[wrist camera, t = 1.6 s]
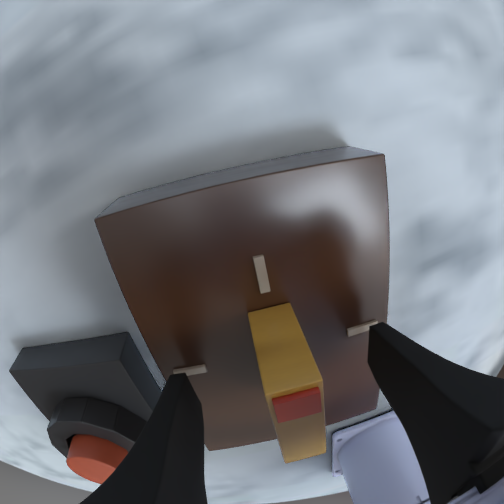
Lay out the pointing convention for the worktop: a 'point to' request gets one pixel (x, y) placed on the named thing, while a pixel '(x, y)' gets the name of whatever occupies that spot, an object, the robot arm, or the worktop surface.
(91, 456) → the bell button
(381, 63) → the worktop surface
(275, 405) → the lock knob
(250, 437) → the plate
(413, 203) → the worktop surface
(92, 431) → the doorbell
